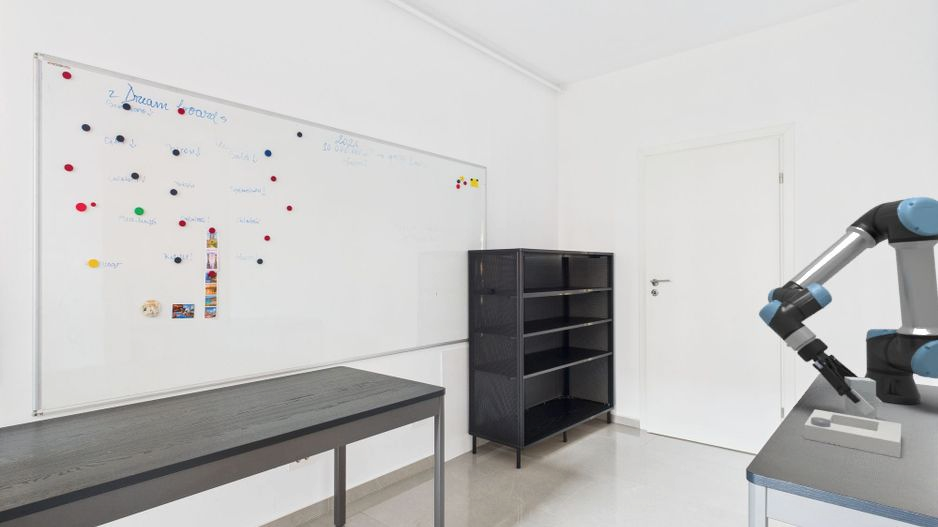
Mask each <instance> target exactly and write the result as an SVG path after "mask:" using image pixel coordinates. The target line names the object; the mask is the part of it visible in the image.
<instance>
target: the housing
mask: <svg viewBox="0 0 938 527" xmlns="http://www.w3.org/2000/svg"><path fill="white" fill-rule="evenodd" d="M876 419H877V418H876ZM876 419H870V418H864V417H858V416H852V415H846V414H844V413H838V412H833V411H826V410H821V409H813V412H812V413H811V414H810V416H809V417H808V419H807V420H806V422H805V423H804V426H803V428H804V429H803V430H804V436H803V437H804V439H805V440H810V441H815V442H820V443H825V444H829V443H830V444H829V445H834V444H835V446H839V445H840V446H839V447H845V448H849V449H853V448H854V449H853V450H859V451H862V452H863V451H864V452H869V453H872V454H873V453H875V454H880V455H884V456H889V457H893V458H899V459H901V454H902V449H901V448H902V423H899V422H893V421H887V420H880V419H877V420H876Z"/></svg>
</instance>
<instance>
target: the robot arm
mask: <svg viewBox="0 0 938 527" xmlns="http://www.w3.org/2000/svg"><path fill="white" fill-rule="evenodd" d="M886 240H887V241H888V242H887V243H888V245H889V246H890V247H892V248H893V249H894V250H895V260H896V271H897V273H896V274H897V282H898V285H897V286H898V294H899V304H900V305H899V307H900V316H901V318H900V319H901V326H900V327H899V328H895V329H894V328H890V329H889V328H887V329H886V328H873V329H872V328H870V329H868V331H867V332H866V335H865V336H866V337H865V342H866V347H865V350H866V373H865V375H864V377H863V378H870V379H872V380H874V381H876V407H878V406H879V405H881V404H883V402H885V403H890V404H891V403H892V404H899V405H918V404H920V403H922V402H921V393H920V392H919V391H920V390H919V389H918V386H917V384H916V381H915V379H914V375H917V376H919V377H922V378H929V379H938V283H937V282H938V281H937V280H938V279H937V272H936V262H935V261H936V259H935V249H934V248H935V246H936V245H937V244H938V200H937V199H936V198H935V199H934V198H933V197H927V196H918V197H910V198H906V199H900V200H896V201H895V200H894V201H890V202H889V201H888V202H882V203H879V204H878V205H876V206H874V207H872V208H871V209H869V210H868V211H866V212H865V213H864V214H862V215H860V217H858V218H857V219H856V220H855V221H854V222H853V223H851V224H850V225H849V226H848V227H846V228H845V234H843V235H842V236H841V237H839V239H837V240H836V241H835V242H834V243H833V244H832V245H831V246H829V247H827V249H826V250H824V251H823V252H822V253H821V254H820V255H818V256H817V257H816V258H815V259H814V260H812V261H811V262H810V263H809V264H808V265H806V266H805V267H804V268H803V269H802V270H801V271H799V272H798V273H797V274H796V275H794V277H792V278H791V279H790V280H788V281H787V282H786V283H785V284H784V285H782V286H780V287H775V288H773V289H771V290H770V291H769V293H768V294H767V301H768V303H767V304H765V305H764V306H763V307H762V308H761V309H760V311H759V312H758V315H759V318H760V319H761V320H762V321H763V323H765V324H766V325H767V327H769V328H770V329H771V330H772V331H773V332H774V333H775V334H777V335H778V336H779V337H780V339H782V340H783V341H784V342H785V344H786V347H787V348H788V347H789V348H791V350H793V351H794V352H796V353H797V356H799V357H800V358H801V359H802V360H803V361H804V362H806V363H808V362H811V361H813V362H814V363H812V364H811V365H812V367H814V369H816V370H817V371H818V372H819V373H820V375H821V376H823V378H824V379H825V380H826V381H827V382H828V383H829V385H831V387H833V389H834V390H835V391H836V392H837V394H838V395H839V396H840V397H842V396H844V397H845V396H846V397H847V398H848V399H849V400H850V401H851V402H852V403H853V404H854V405H855V406H856V407H857V408H858V409H859V410H860V411H861V412H862V413H863V414H864V415H867V414H868V413H870V412H872V411H873V410H875V409H874V408H873V407H872V406H871V405H870V404H869V403H868V402H867V401H865V400H864V399H863V398H862V397H861V396H860V395H859V394H858V393H857V392H856V391H855V390H854V389H853V390H851V388H850V387H849V386H848V384H847V383H846V382H845V377H859V376H858V375H857V374H856V373H854V372H853V371H851V369H849V368H848V367H847V366H845V365H844V364H843V363H842V361H841V362H840V361H839V360H838V359H837V358H836V357H835V356H834V355H833V354H830V355H829V354H827V352H825V351H827V350H828V347H829V346H828V345H827V344H826V343H825V342H824V341H823V340H821V339H820V338H818V337H817V335H816V333H814V332H813V331H812V330H811V329H810V328H809V327H808V326H806V324H804V323H803V322H804V321H806V320H807V319H808V318H811V317H812V316H813V315H815V314H817V313H818V312H820V311H821V310H823V309H825V308H826V307H827V306H828V305H830V303H832V301H833V296H832V294H831V293H830V292H829V290H828V289H827V288H825V287H824V286H823V285H824V284H825V283H827V282H828V281H829V280H830V279H832V278H833V277H834V276H835V275H837V274H838V273H839V272H840V271H842V270H843V268H845V267H847V265H849V264H850V263H851V262H853V260H855V259H856V258H858V256H860V255H861V254H862V253H863V252H864V251H866V250H867V249H873V248H875V247H877V245H879V244H880V243H882V242H884V241H886ZM850 390H851V391H850Z"/></svg>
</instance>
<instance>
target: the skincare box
mask: <svg viewBox="0 0 938 527" xmlns="http://www.w3.org/2000/svg"><path fill="white" fill-rule="evenodd" d="M845 382H846V383H847V384H848V386H849V387H850V388H851V390H853V389H854V390H855V391H856V392H857V393H858V394H859V395H860V396H861V397H862V398H863V399H864V400H865V401H867V402H868V403H869V404H870V405H871V406H872V407H873V408H874V409H875V410H873V411H872V412H870V413H868V414H867V415H864V414H863V413H862V412H861V411H860V410H859V409H858V408H857V407H856V406H855V405H854V404H853V403H852V402H851V401H850V400H849V399H848V398H847V397H846V396H845V395H844V412H845V414H846V415H852V416H858V417H864V418H870V419H876V420H878V419H877V406H876V381H874V380H872V379H870V378H864V377H860V376H858V377H845ZM851 390H850V391H851Z"/></svg>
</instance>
